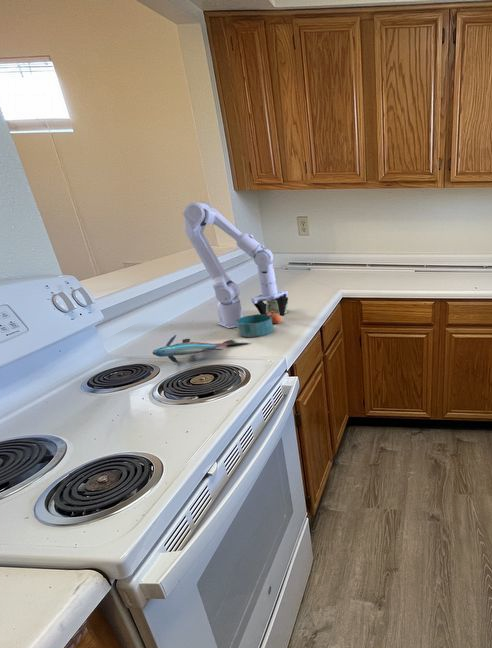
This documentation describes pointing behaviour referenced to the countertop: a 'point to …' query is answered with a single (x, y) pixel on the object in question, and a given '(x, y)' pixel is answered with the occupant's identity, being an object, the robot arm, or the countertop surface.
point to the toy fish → (274, 317)
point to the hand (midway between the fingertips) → (273, 317)
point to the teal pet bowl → (254, 325)
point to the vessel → (273, 306)
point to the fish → (188, 348)
